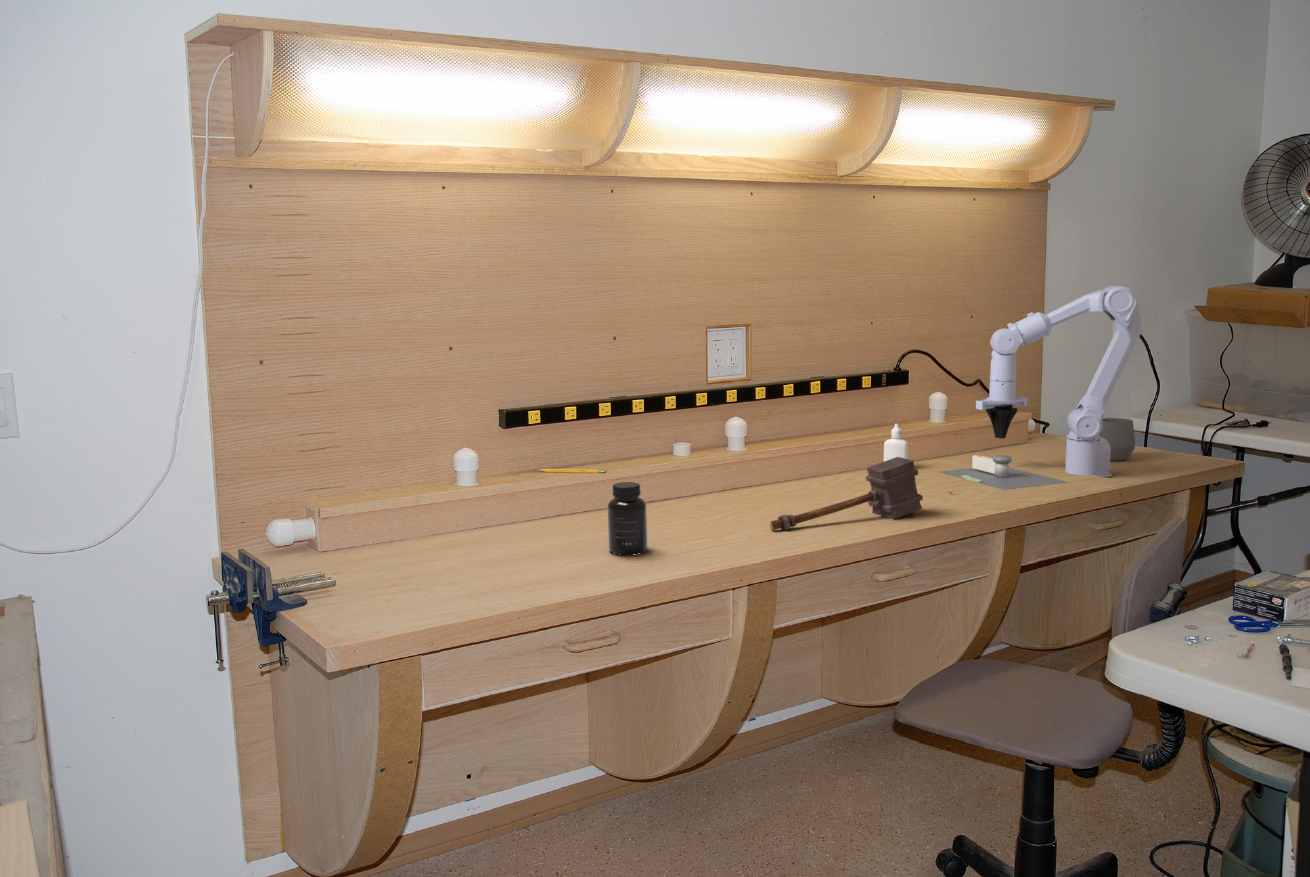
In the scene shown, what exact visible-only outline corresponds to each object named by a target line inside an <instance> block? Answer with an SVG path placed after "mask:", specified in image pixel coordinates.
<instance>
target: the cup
mask: <svg viewBox="0 0 1310 877" xmlns="http://www.w3.org/2000/svg"><path fill="white" fill-rule="evenodd" d="M1134 427H1135V426H1134V420H1132V419H1128V418H1119V417H1103V419H1102V430H1101V432H1100V434H1099V435H1100V436H1101V437H1102V438H1104V439H1106V440H1107V441H1108V443H1109V445H1110V449H1111V454H1110V460H1113V461H1112V462H1121V461H1126V460H1128V459H1129V458H1130V456H1131V455H1132V453H1133V452H1134V450H1135V448H1136V436H1135V428H1134Z"/></svg>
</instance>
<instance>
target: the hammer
mask: <svg viewBox="0 0 1310 877" xmlns="http://www.w3.org/2000/svg"><path fill="white" fill-rule="evenodd" d="M866 471H867V474H868V475H865V480H866V482H870V484H869V485H870V487H871V489H870V490H869V491H868V493H867V494H866V493H865V494H863V495H861V496H857V497H854V498H850V499H847V500H844V501H841V502H838V503H837V502H836V503H834V504H830V505H827V506H824V507H820V508H817V509H814V510H811V511H807V512H802V513H800V514H796V515H793V514H782V515H779V516H778V518H777V519H776V520H771V521H770V522H769V529H770V530H771V531H775V530H782V529H783V530H782V531H784V530H785V531H788V530H789V529H790V528H793V527H796V526H797V525H798V524H800V523H801V524H802V523H803V522H808V521H811V520H814V519H818V518H822V517H824V516H828V515H830V514H834V513H837V512H841V511H844V510H847V509H850V508H853V507H856V506H859V505H862V504H865V503H868V506H870V507H872V514H873V513H875V514H874V515H876V514H878V515H877V516H879V515H881V516H880V517H882V516H883V517H882V518H885V517H887V518H889V519H888V520H890V519H894V520H896V519H899V518H902V517H905V516H907V515H909V514H912V513H915V512H917V511H920V510H922V509H923V506H922V504H921V501H923V497H924V496H923V495H922V494H919V493H918V489H917V483H916V476H918V475H919V470H918V469H917V468H915V462H914V460H912V459H909V458H908V459H905V458H901V457H896V458H893V459H890V460H887V461H884V460H883V462H879V463H876V464H874V465H870V466H868V467H866ZM887 518H886V519H887ZM780 528H781V529H780Z"/></svg>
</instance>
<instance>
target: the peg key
mask: <svg viewBox="0 0 1310 877" xmlns="http://www.w3.org/2000/svg"><path fill="white" fill-rule="evenodd" d="M971 460H972V464H971V468H974V469H978V470H982V471H986V472H990V473H994V474H995V477H1001V478H1006V477H1008V476H1009V468H1010V463H1012V461H1013V460H1012V456H1011V455H1006V454H1005V455H1004V454H1003V455H1002V454H1000V455H999V454H997V455H993V456H992V458H991V457H989V456H984V455H981V454H976V453H975V454H974V455H972V459H971Z"/></svg>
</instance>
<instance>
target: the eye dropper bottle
mask: <svg viewBox="0 0 1310 877" xmlns="http://www.w3.org/2000/svg"><path fill="white" fill-rule="evenodd" d="M902 434H903V430H902V429H901V428H900V426H899V423H894V427H893V428H892V429H891V432H890V436H891V438H889V439H886V440H885V441H884V443H883V462H884V461H887V460H890V459H893V458H896V457H901V458H905V459H909V442H908V441H907V440H905V439H902V437H903V436H902Z"/></svg>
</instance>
